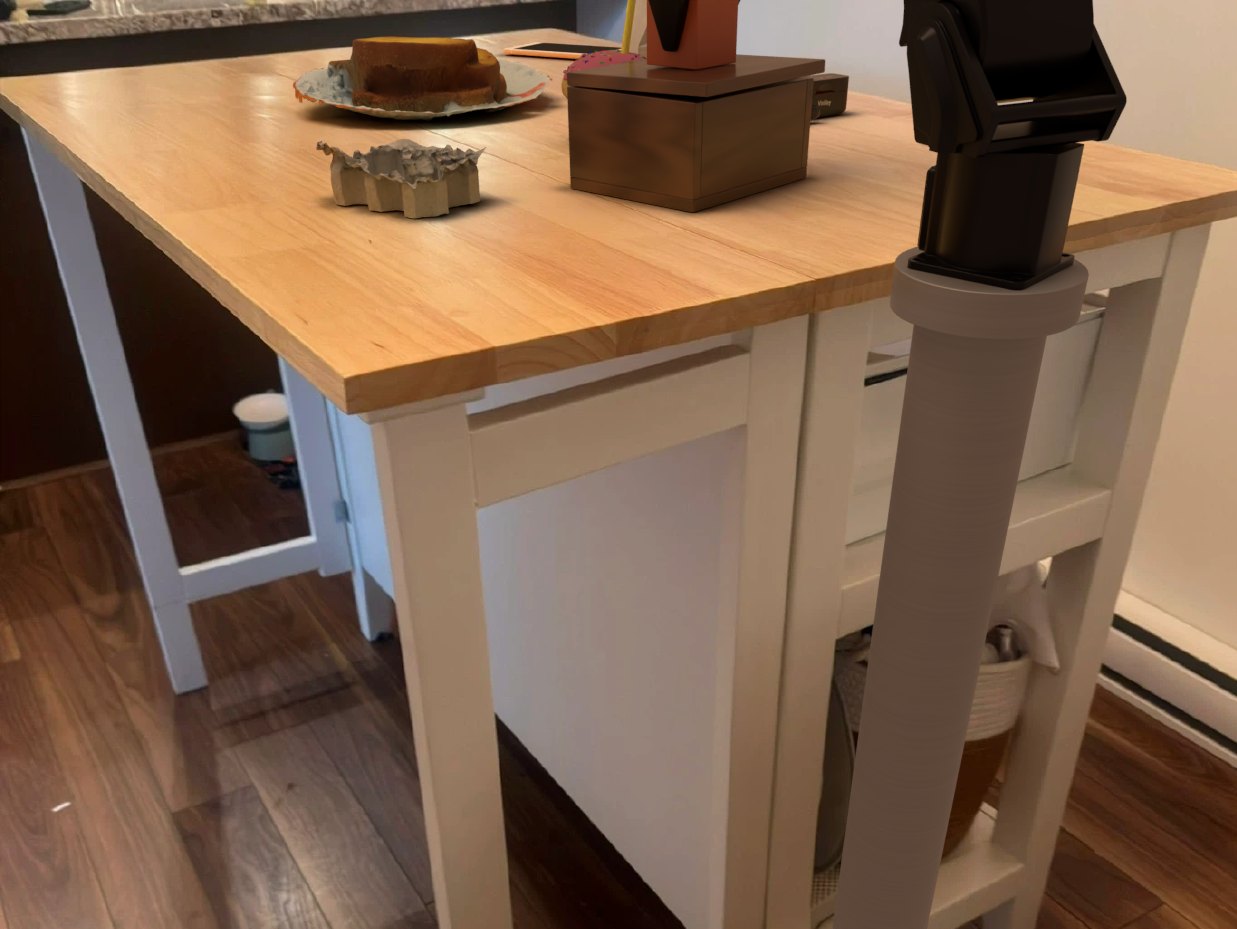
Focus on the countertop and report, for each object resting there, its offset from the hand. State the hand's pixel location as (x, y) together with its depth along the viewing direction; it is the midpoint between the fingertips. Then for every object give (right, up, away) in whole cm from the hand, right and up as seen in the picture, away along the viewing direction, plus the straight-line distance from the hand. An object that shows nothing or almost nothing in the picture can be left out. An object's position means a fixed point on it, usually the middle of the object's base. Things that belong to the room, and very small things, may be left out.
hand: (692, 47), depth 80 cm
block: (0, -1, +1) cm, 1 cm away
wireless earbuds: (+13, +7, +27) cm, 31 cm away
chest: (0, -7, +5) cm, 9 cm away
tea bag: (-2, +10, +31) cm, 33 cm away
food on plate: (-24, +12, +35) cm, 44 cm away
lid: (0, -2, +1) cm, 2 cm away
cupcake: (-6, +1, +18) cm, 19 cm away
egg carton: (-20, -10, +2) cm, 23 cm away
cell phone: (-11, +33, +65) cm, 74 cm away
